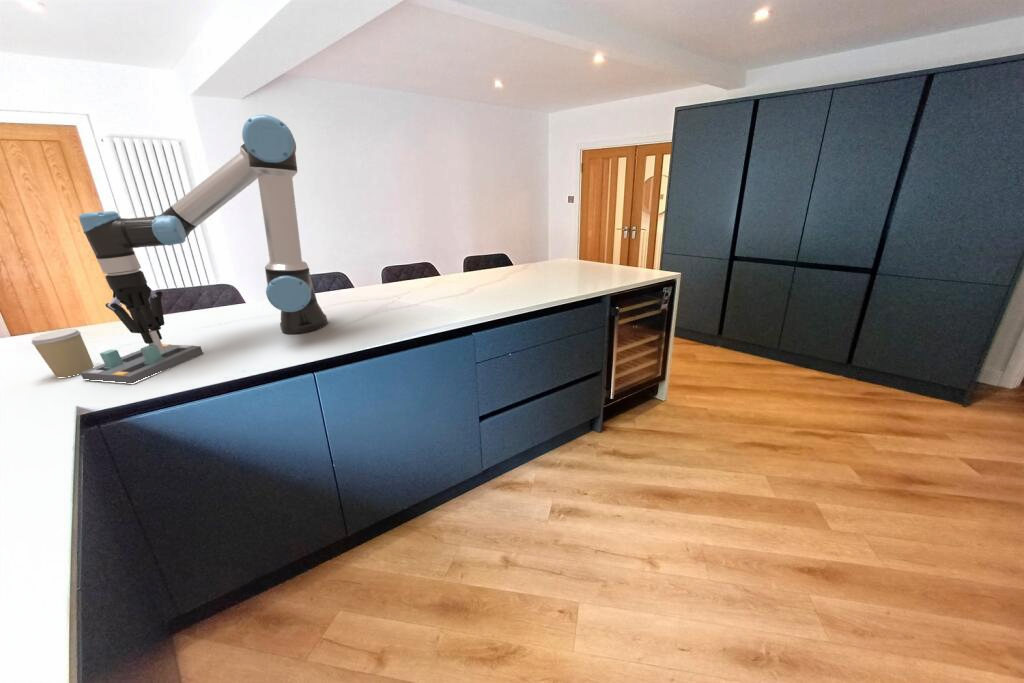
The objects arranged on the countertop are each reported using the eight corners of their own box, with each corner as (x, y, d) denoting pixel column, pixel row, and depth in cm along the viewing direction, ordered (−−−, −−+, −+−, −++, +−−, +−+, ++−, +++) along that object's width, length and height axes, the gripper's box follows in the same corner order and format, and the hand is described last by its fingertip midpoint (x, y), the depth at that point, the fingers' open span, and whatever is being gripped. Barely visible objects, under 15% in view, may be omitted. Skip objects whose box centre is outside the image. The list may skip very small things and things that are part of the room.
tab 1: (128, 365, 112) (120, 348, 110) (112, 372, 108) (104, 354, 106) (120, 365, 113) (112, 348, 111) (105, 371, 109) (95, 354, 107)
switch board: (203, 353, 121) (200, 345, 120) (133, 384, 103) (129, 375, 102) (159, 351, 125) (155, 343, 124) (84, 380, 107) (79, 372, 106)
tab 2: (167, 361, 114) (159, 344, 112) (153, 367, 110) (145, 350, 108) (159, 360, 114) (151, 343, 112) (145, 366, 111) (136, 349, 109)
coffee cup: (74, 366, 117) (53, 329, 112) (106, 363, 117) (87, 327, 113) (42, 381, 108) (18, 342, 104) (77, 378, 109) (55, 339, 104)
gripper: (139, 267, 111) (171, 342, 120) (83, 277, 99) (124, 360, 108) (159, 267, 109) (190, 343, 118) (105, 278, 97) (144, 362, 106)
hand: (158, 351), depth 113 cm, fingers closed
